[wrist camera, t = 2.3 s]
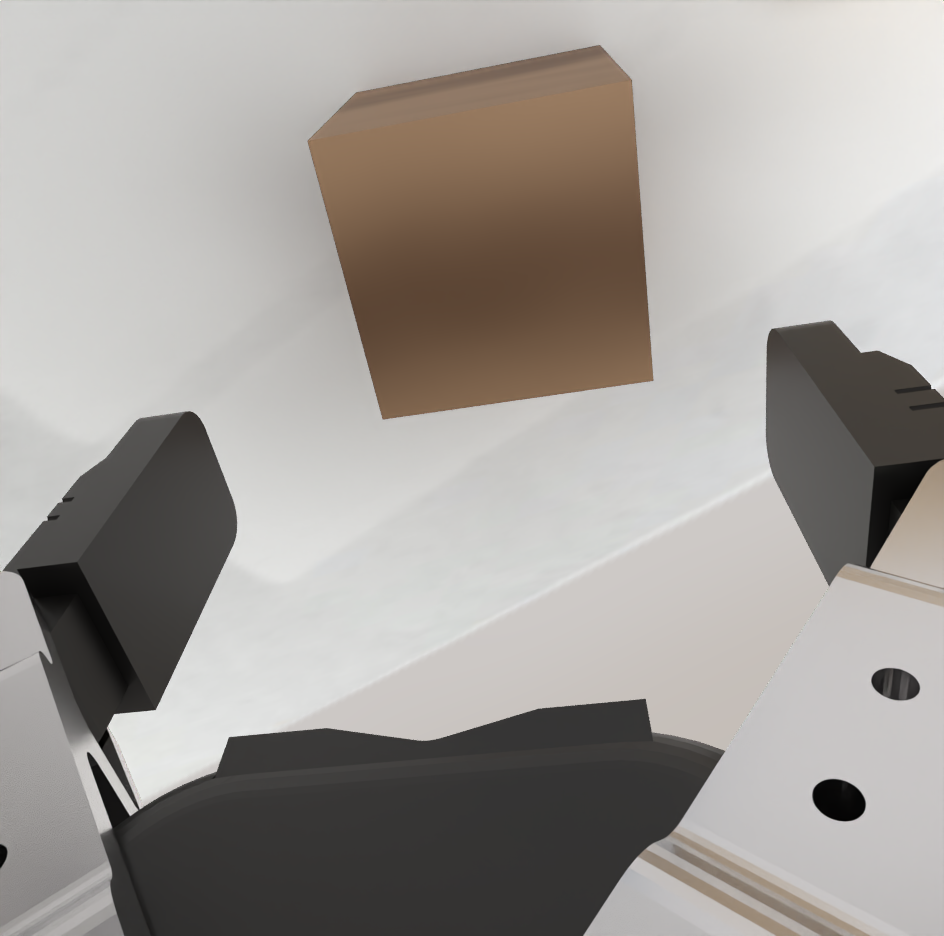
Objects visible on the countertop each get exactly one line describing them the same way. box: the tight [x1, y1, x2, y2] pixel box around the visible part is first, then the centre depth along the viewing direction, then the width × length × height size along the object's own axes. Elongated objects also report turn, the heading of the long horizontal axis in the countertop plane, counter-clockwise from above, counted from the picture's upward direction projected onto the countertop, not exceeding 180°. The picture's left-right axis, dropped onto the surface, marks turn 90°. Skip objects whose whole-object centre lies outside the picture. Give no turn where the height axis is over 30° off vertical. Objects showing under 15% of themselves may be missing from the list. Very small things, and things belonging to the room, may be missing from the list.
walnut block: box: [308, 45, 653, 419], centre depth 19 cm, size 6×6×6 cm
